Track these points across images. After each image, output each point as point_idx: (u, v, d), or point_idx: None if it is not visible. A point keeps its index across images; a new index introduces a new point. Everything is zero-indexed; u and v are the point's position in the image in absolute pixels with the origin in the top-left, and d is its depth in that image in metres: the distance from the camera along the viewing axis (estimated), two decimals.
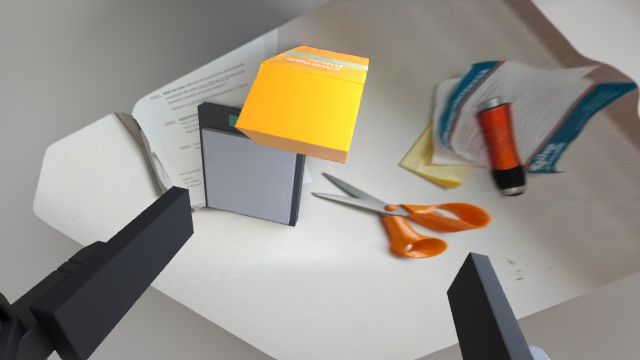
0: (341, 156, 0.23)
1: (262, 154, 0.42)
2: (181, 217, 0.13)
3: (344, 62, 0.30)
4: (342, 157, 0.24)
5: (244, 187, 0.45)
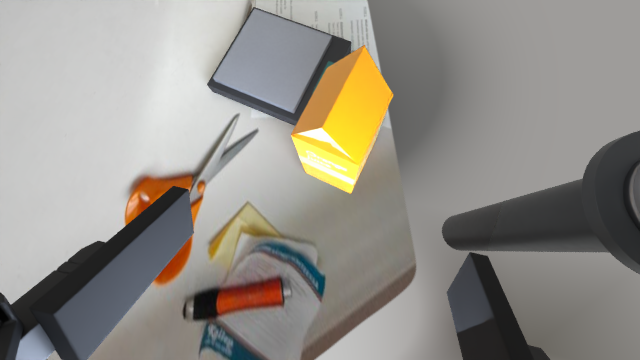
0: (309, 127, 0.26)
1: (295, 79, 0.44)
2: (181, 217, 0.13)
3: (361, 166, 0.36)
4: (306, 128, 0.26)
5: (266, 50, 0.45)
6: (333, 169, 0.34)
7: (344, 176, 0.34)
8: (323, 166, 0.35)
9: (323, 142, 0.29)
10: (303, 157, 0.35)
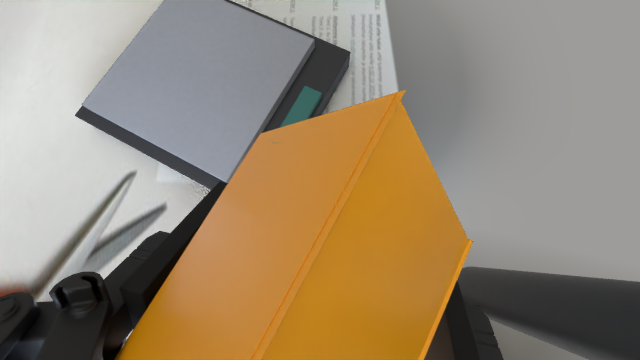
0: None
1: (237, 117, 0.23)
2: None
3: None
4: None
5: (189, 59, 0.24)
6: None
7: None
8: None
9: None
10: None
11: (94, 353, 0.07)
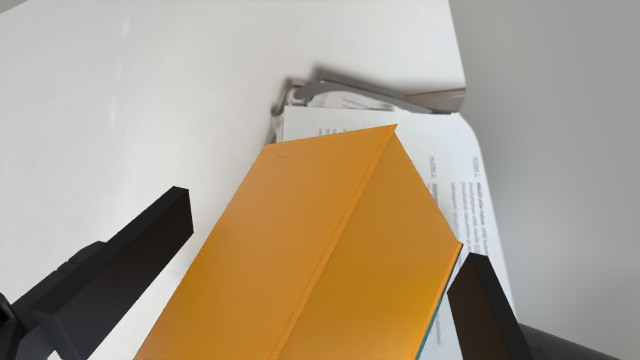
0: None
1: None
2: (181, 217, 0.13)
3: None
4: None
5: None
6: None
7: None
8: None
9: None
10: None
11: None
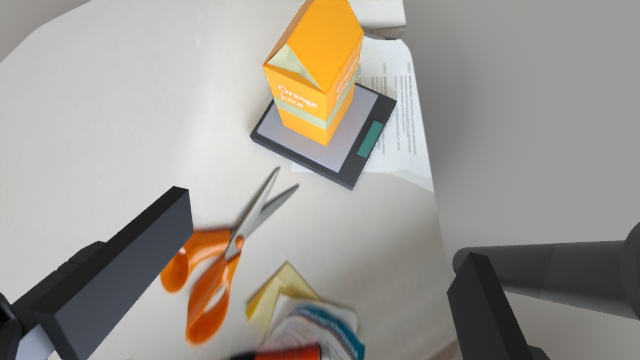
0: (277, 49, 0.27)
1: (340, 138, 0.43)
2: (181, 217, 0.13)
3: (335, 112, 0.37)
4: (275, 52, 0.27)
5: None
6: (305, 109, 0.35)
7: (316, 118, 0.35)
8: (296, 108, 0.35)
9: (293, 72, 0.30)
10: (277, 99, 0.36)
11: None
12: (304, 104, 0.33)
